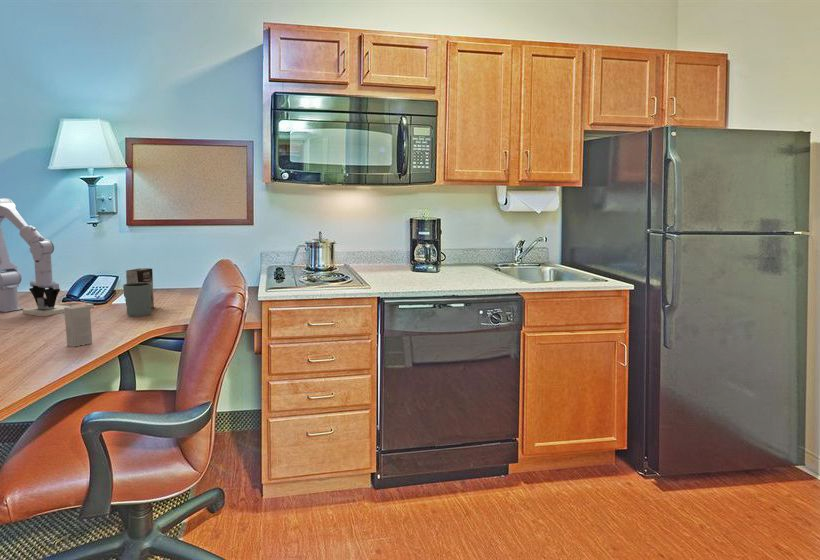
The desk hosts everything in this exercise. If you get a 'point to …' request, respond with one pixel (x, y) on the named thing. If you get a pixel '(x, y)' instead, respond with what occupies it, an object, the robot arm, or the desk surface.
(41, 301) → the dark grey block
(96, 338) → the desk surface
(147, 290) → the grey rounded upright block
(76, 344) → the skincare box
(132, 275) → the coffee box
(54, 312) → the board with square holes
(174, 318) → the desk surface
